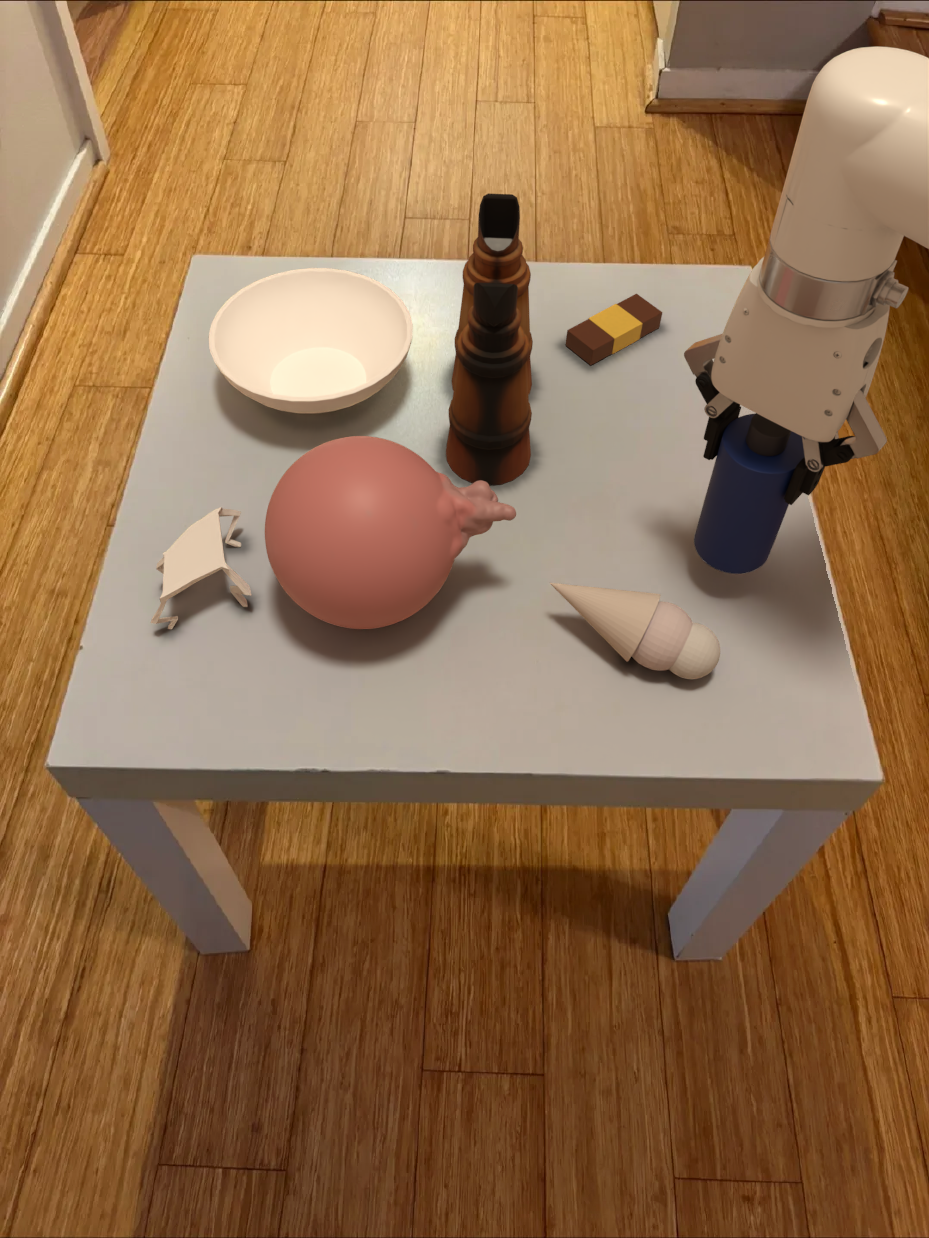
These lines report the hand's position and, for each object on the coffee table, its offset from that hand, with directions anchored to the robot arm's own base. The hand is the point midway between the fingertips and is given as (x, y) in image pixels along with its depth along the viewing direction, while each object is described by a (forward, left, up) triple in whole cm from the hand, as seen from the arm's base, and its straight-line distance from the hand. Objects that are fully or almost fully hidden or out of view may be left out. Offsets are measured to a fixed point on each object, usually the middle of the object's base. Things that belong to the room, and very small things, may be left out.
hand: (756, 469), depth 76 cm
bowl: (+44, +7, -13) cm, 46 cm away
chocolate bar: (+26, -19, -13) cm, 35 cm away
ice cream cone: (+2, +12, -13) cm, 18 cm away
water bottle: (0, 0, -9) cm, 9 cm away
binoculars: (+28, -1, -13) cm, 31 cm away
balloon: (+20, +20, -13) cm, 32 cm away
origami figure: (+33, +30, -13) cm, 46 cm away
